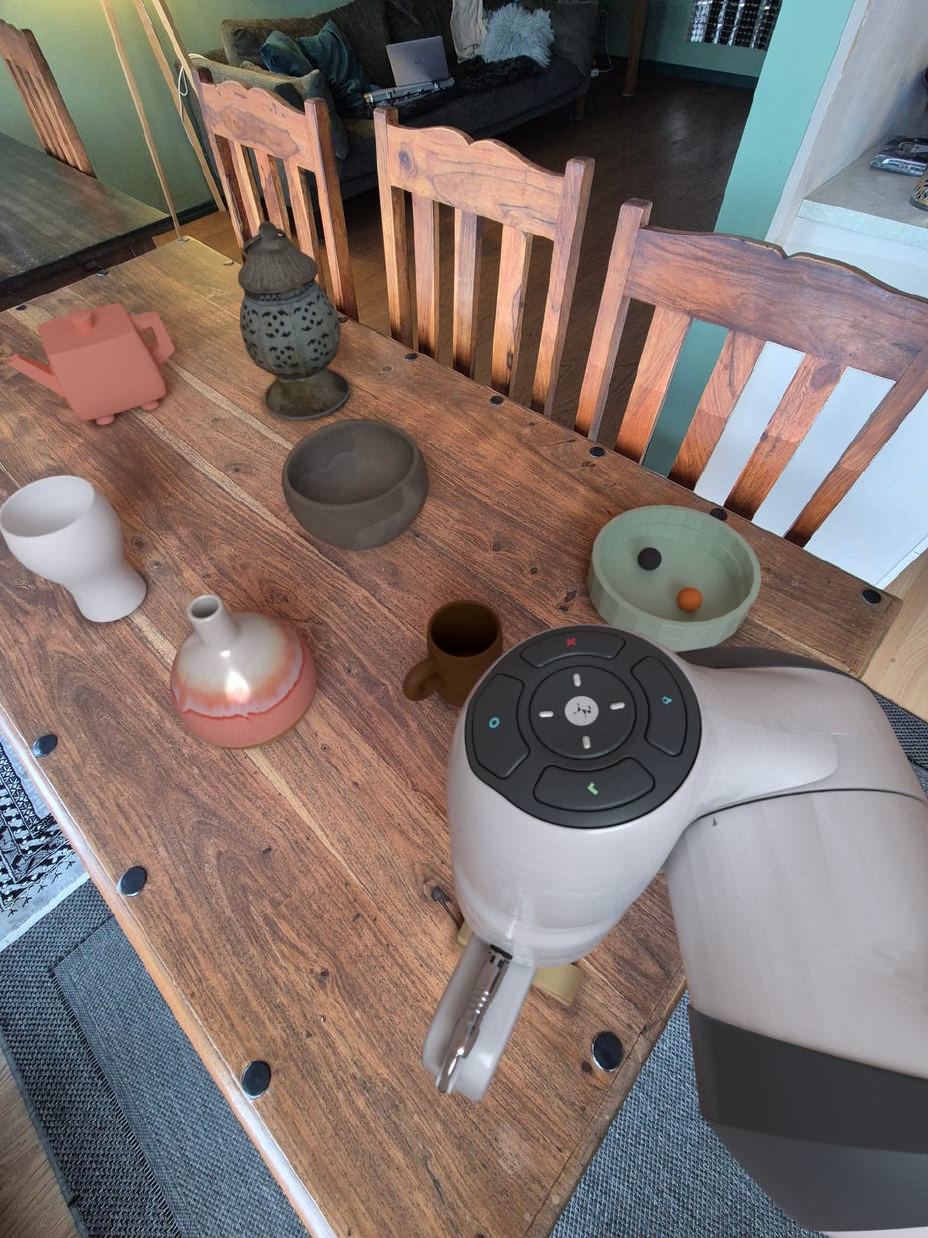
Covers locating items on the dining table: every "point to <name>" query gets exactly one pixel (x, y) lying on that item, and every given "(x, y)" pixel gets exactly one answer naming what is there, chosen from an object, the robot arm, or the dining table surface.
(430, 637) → the mug
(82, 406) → the teapot
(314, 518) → the bowl
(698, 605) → the bead
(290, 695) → the vase
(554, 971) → the stick
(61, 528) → the cup
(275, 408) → the lantern
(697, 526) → the bowl
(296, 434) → the dining table surface
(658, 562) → the bead
